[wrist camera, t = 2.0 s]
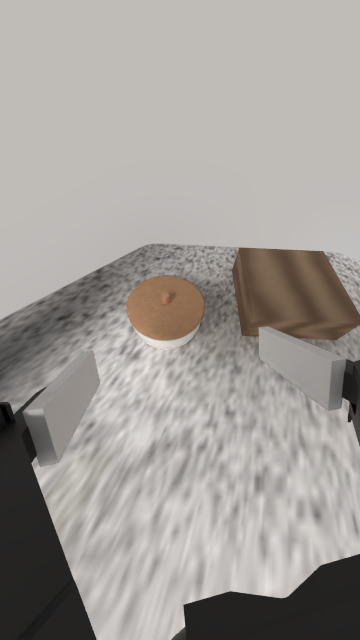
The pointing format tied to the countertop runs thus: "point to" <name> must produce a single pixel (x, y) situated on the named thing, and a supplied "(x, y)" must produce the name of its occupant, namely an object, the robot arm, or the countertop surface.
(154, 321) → the lidded jar
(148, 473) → the countertop surface
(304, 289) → the walnut box
